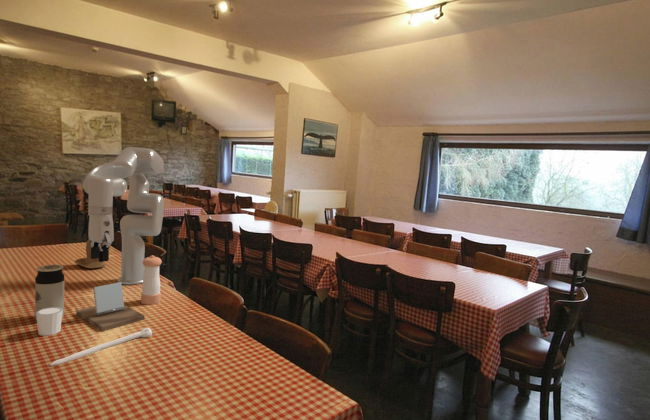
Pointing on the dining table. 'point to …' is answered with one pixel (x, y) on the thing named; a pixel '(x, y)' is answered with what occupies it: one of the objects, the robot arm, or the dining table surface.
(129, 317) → the board
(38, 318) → the white cup
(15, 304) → the dining table surface
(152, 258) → the salt shaker
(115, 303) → the tile
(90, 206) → the robot arm
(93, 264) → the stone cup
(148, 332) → the white nail
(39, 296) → the travel mug
